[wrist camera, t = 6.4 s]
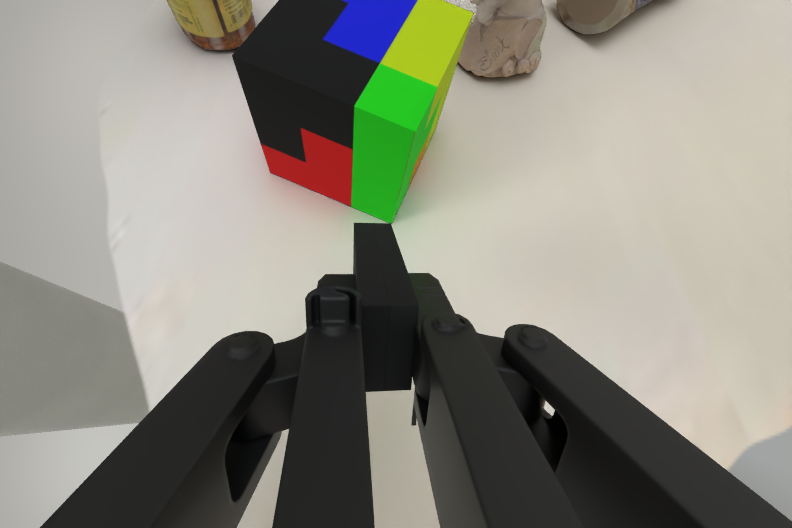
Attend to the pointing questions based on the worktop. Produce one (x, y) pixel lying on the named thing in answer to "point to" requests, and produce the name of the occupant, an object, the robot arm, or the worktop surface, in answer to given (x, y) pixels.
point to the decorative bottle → (596, 13)
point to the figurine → (504, 37)
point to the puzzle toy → (351, 92)
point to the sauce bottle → (215, 21)
